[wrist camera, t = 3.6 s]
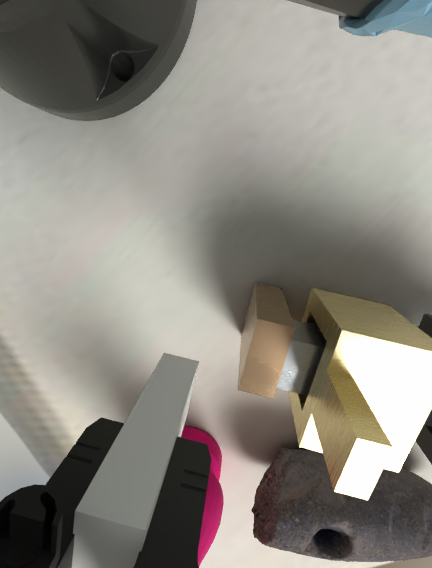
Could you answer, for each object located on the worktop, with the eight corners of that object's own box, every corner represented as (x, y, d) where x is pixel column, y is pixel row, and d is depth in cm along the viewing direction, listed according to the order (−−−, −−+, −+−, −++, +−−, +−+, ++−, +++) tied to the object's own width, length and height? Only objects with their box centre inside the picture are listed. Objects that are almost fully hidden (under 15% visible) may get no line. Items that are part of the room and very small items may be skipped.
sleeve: (284, 373, 21) (316, 532, 11) (312, 287, 19) (380, 385, 9) (354, 390, 21) (450, 568, 11) (388, 305, 19) (546, 426, 9)
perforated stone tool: (440, 453, 24) (512, 549, 18) (422, 501, 26) (482, 606, 19) (257, 426, 26) (259, 506, 19) (250, 473, 27) (250, 563, 20)
